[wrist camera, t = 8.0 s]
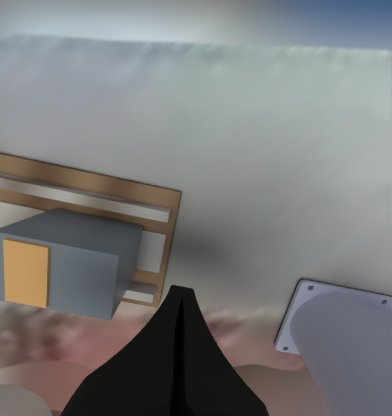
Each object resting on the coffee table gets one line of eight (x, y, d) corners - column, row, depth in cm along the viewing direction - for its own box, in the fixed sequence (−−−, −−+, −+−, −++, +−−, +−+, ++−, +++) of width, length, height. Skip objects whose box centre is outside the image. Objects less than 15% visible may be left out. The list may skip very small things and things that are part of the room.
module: (142, 225, 16) (117, 257, 11) (135, 273, 17) (109, 322, 12) (55, 208, 16) (-13, 232, 10) (53, 258, 17) (-9, 301, 12)
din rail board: (181, 191, 16) (177, 200, 12) (159, 302, 19) (150, 336, 15) (-116, 128, 15) (-211, 119, 11) (-94, 256, 18) (-166, 280, 14)
